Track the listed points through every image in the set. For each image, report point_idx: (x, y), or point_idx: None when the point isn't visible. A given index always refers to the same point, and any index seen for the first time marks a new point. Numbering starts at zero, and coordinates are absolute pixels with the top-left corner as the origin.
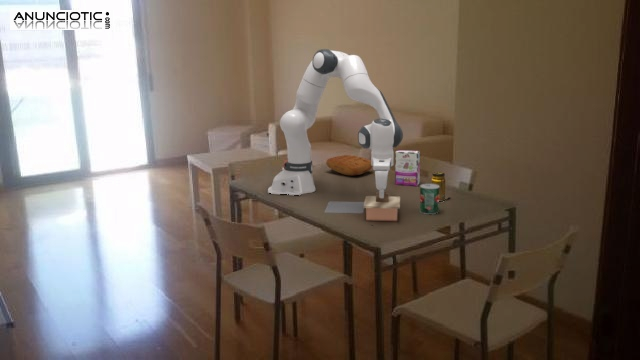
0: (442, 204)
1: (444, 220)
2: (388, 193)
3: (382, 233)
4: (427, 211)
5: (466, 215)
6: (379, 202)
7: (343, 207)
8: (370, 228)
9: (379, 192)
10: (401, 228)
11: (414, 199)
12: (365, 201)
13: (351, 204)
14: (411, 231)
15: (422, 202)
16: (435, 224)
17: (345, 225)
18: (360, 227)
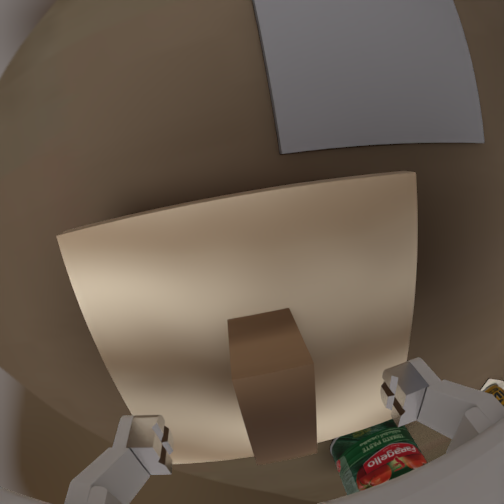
0: (435, 432)
1: (265, 485)
2: (262, 464)
3: (16, 337)
4: (334, 452)
5: (325, 499)
6: (217, 352)
7: (373, 14)
8: (39, 273)
9: (95, 463)
10: (108, 402)
11: (500, 342)
12: (215, 209)
13: (438, 62)
14: (96, 430)
15: (361, 464)
16: (212, 477)
17: (39, 116)
18: (32, 214)
